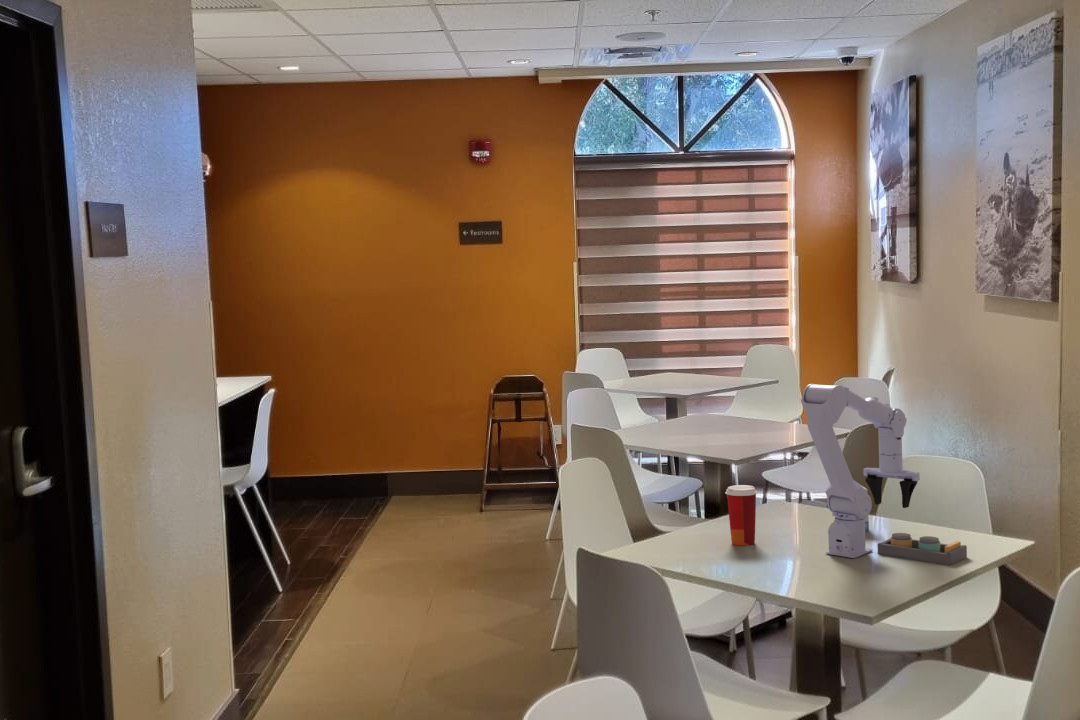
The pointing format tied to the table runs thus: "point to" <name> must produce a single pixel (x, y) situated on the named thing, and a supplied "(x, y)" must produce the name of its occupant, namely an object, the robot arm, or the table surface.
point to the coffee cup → (742, 514)
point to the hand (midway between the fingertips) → (891, 505)
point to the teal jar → (929, 543)
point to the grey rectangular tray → (923, 552)
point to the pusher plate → (952, 546)
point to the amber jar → (901, 540)
